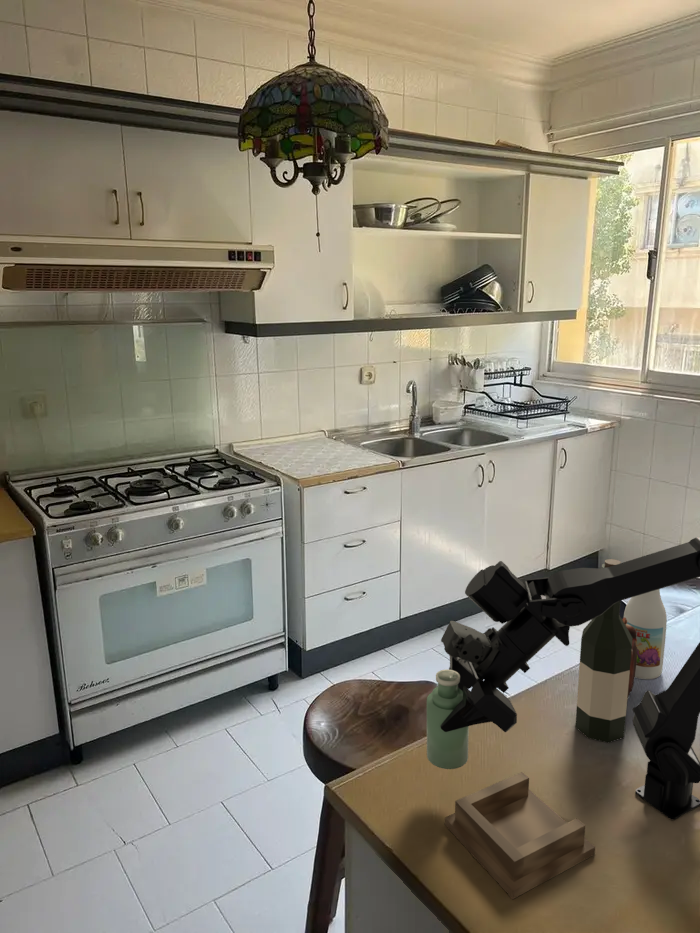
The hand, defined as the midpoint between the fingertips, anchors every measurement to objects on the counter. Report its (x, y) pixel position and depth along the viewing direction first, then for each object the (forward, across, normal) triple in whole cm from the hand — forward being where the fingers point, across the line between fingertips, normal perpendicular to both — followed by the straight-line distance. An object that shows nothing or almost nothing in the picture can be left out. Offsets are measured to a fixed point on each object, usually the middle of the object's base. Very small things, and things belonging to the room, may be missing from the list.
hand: (438, 716), depth 98 cm
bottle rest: (+3, +10, +16) cm, 19 cm away
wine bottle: (-12, -14, +31) cm, 36 cm away
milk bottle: (-23, -30, +42) cm, 56 cm away
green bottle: (+4, 0, +6) cm, 7 cm away
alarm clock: (-17, -22, +36) cm, 46 cm away
